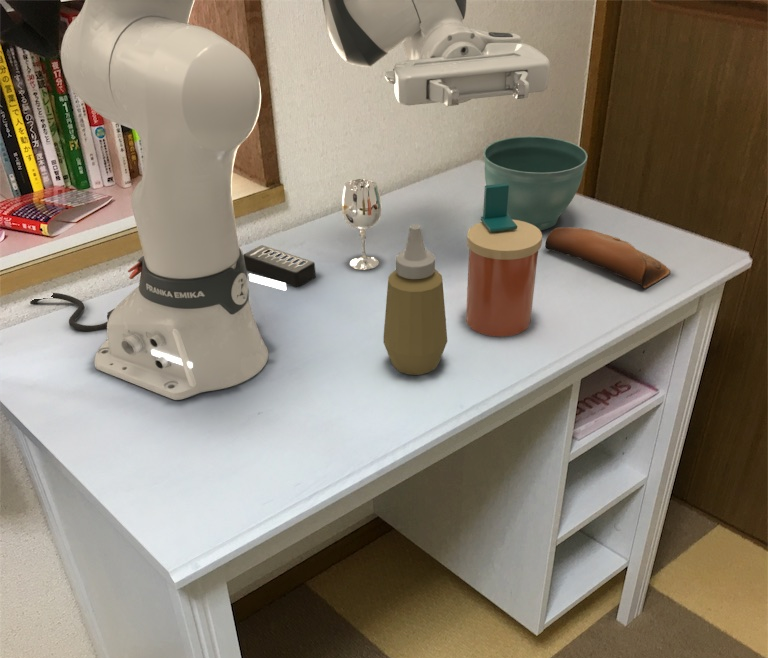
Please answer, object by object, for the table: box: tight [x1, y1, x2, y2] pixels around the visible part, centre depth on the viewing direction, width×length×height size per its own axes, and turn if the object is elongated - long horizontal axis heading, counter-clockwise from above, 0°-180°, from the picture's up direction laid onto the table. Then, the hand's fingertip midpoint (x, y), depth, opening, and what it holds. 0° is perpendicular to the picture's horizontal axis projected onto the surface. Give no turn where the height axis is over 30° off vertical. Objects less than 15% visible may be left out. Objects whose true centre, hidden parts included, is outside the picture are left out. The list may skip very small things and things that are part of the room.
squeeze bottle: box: [383, 224, 448, 376], centre depth 98 cm, size 8×8×18 cm
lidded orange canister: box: [465, 247, 539, 338], centre depth 108 cm, size 9×9×11 cm
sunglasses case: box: [544, 226, 671, 289], centre depth 122 cm, size 18×7×7 cm
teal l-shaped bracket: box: [480, 183, 517, 232], centre depth 103 cm, size 4×4×4 cm
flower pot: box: [482, 135, 588, 231], centre depth 131 cm, size 16×16×11 cm
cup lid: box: [466, 219, 543, 260], centre depth 104 cm, size 9×9×1 cm
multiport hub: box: [243, 244, 317, 288], centre depth 123 cm, size 4×11×2 cm, turn 53°
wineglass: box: [341, 178, 382, 271], centre depth 121 cm, size 6×6×12 cm
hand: (488, 95), depth 100 cm, fingers open, 8 cm apart
